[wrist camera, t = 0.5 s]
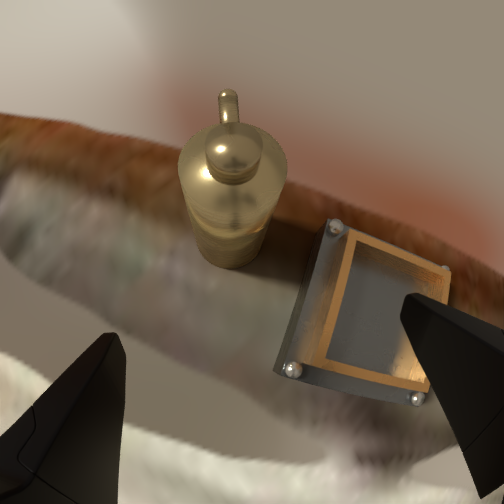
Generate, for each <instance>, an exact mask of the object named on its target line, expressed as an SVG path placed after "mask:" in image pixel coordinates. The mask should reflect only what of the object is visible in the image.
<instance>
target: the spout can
mask: <svg viewBox="0 0 504 504" xmlns="http://www.w3.org/2000/svg"><path fill="white" fill-rule="evenodd" d="M218 105H219V119H220V124H215V125H212V126H209V127H207V128H205V129H203V130H201V131H200V132H198V133H196V134H195V135H194V136H193V137H192V138H191V139H190V140H189V141H188V142H187V143H186V145H185V146H184V148H183V149H182V151H181V154H180V157H179V161H178V173H179V178H180V182H181V186H182V190H183V194H184V198H185V201H186V205H187V209H188V213H189V217H190V220H191V224H192V228H193V231H194V235H195V239H196V242H197V246H198V249H199V251H200V253H201V254H202V256H203V257H204V258H205V259H206V260H207V261H208V262H210V263H211V264H213V265H215V266H217V267H220V268H226V269H233V268H238V267H242V266H244V265H246V264H248V263H249V262H250V261H252V260H253V259H254V258H255V257H256V255H257V254H258V252H259V250H260V248H261V245H262V242H263V240H264V237H265V234H266V231H267V229H268V226H269V223H270V221H271V218H272V215H273V212H274V210H275V207H276V204H277V202H278V199H279V196H280V193H281V191H282V188H283V185H284V182H285V179H286V176H287V160H286V157H285V154H284V152H283V150H282V148H281V146H280V145H279V143H278V142H277V141H276V140H275V139H274V138H273V137H272V136H271V135H270V134H268V133H267V132H265V131H264V130H262V129H260V128H257V127H255V126H253V125H249V124H245V123H240V122H239V109H238V97H237V94H236V92H235V91H234V90H232V89H224V90H222V91H221V92H220V94H219V96H218Z"/></svg>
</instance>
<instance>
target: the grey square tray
mask: <svg viewBox="0 0 504 504" xmlns="http://www.w3.org/2000/svg"><path fill="white" fill-rule="evenodd" d="M450 279H451V272H450V270H449V268H448V267H447V266H440V265H437V264H435V263H433V262H431V261H429V260H426V259H424V258H422V257H420V256H417V255H415V254H413V253H411V252H408V251H406V250H404V249H401V248H399V247H397V246H394V245H392V244H390V243H387V242H385V241H383V240H380V239H378V238H375V237H373V236H371V235H368V234H366V233H363V232H361V231H358V230H356V229H353V228H351V227H348V226H346V225H343V223H342V222H341V221H340V220H338V219H333V220H330V219H327V220H326V222H325V223H324V224H323V225H322V227H321V228H320V229H319V230H318V232H317V233H316V236H315V239H314V243H313V246H312V250H311V253H310V256H309V260H308V263H307V267H306V270H305V273H304V277H303V280H302V283H301V286H300V290H299V293H298V296H297V299H296V302H295V306H294V309H293V312H292V315H291V318H290V321H289V324H288V327H287V330H286V333H285V336H284V339H283V342H282V345H281V348H280V351H279V354H278V357H277V360H276V363H275V365H274V368H273V371H274V372H275V373H277V374H279V375H281V376H284V377H287V378H291V379H294V380H298V381H301V382H305V383H309V384H312V385H316V386H320V387H324V388H328V389H332V390H336V391H340V392H344V393H349V394H353V395H358V396H362V397H367V398H372V399H377V400H382V401H387V402H392V403H398V404H404V405H410V406H416V407H418V406H420V405H421V404H422V403H423V402H424V400H425V395H424V394H423V392H426V393H428V390H429V386H430V382H429V380H428V379H427V377H426V375H425V373H424V371H423V369H422V367H421V365H420V363H419V361H418V359H417V357H416V355H415V353H414V351H413V349H412V346H411V344H410V341H409V339H408V337H407V334H406V332H405V330H404V328H403V325H402V323H401V321H400V312H401V309H402V305H403V301H404V298H405V296H406V295H407V294H410V293H415V292H417V293H420V294H422V295H425V296H427V297H429V298H432V299H434V300H436V301H439V302H441V303H443V304H446V305H447V302H448V295H449V288H450Z"/></svg>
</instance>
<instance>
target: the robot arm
mask: <svg viewBox="0 0 504 504" xmlns="http://www.w3.org/2000/svg"><path fill="white" fill-rule="evenodd" d="M400 321H401V323H402V325H403V328H404V330H405V332H406V334H407V337H408V339H409V341H410V344H411V346H412V349H413V351H414V353H415V355H416V357H417V359H418V361H419V363H420V365H421V367H422V369H423V371H424V373H425V375H426V377H427V379H428V380H429V382H430V384H431V386H432V388H433V390H434V392H435V394H436V396H437V398H438V400H439V402H440V404H441V406H442V409H443V411H444V413H445V415H446V417H447V419H448V421H449V423H450V426H451V428H452V430H453V432H454V434H455V437H456V439H457V441H458V444H459V446H460V448H461V451H462V452H463V456H464V458H465V461H466V463H467V466H468V468H469V470H470V473H471V476H472V478H473V481H474V484H475V486H476V489H477V492H478V495H479V497H480V499H482V498H484V497H485V496H487V495H488V494H490V493H491V492H493V491H494V490H496V489H497V488H499V487H500V486H501V485H503V484H504V330H503V329H500V328H498V327H496V326H494V325H492V324H489V323H487V322H485V321H483V320H480V319H478V318H476V317H473V316H471V315H469V314H467V313H464V312H462V311H460V310H457V309H455V308H453V307H450V306H448V305H446V304H443V303H441V302H439V301H436V300H434V299H432V298H429V297H427V296H425V295H422V294H420V293H417V292H415V293H410V294H407V295H406V296H405V298H404V301H403V305H402V309H401V312H400ZM125 380H126V354H125V351H124V349H123V346H122V344H121V341H120V339H119V336H118V335H117V333H115V332H112V333H103V334H102V335H101V336H100V337H99V338H98V339H97V340H96V341H95V342H94V343H93V344H91V345H90V346H89V347H88V348H87V349H86V351H84V352H83V353H82V354H81V355H80V356H79V357H78V358H77V359H76V360H75V361H74V363H72V364H71V365H70V366H69V367H68V368H67V369H66V370H65V371H64V372H63V373H62V374H61V376H59V378H58V379H56V380H55V381H54V383H53V384H52V385H51V386H50V387H49V388H48V389H47V390H46V391H45V392H44V393H43V394H42V395H41V396H40V397H39V398H38V399H37V400H36V401H35V402H34V403H33V406H30V407H29V409H28V410H27V411H26V412H25V413H24V414H23V415H22V416H21V417H20V418H19V419H18V420H17V421H16V422H15V423H14V424H13V425H12V426H11V427H10V428H9V429H8V430H7V431H6V432H5V433H3V434H2V435H1V436H0V504H118V478H119V461H120V448H121V437H122V427H123V418H124V409H125ZM502 504H504V496H503V500H502Z"/></svg>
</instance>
